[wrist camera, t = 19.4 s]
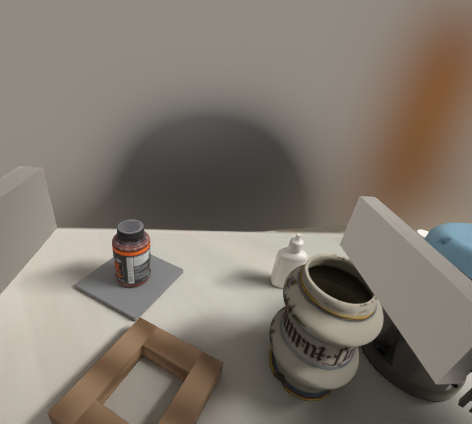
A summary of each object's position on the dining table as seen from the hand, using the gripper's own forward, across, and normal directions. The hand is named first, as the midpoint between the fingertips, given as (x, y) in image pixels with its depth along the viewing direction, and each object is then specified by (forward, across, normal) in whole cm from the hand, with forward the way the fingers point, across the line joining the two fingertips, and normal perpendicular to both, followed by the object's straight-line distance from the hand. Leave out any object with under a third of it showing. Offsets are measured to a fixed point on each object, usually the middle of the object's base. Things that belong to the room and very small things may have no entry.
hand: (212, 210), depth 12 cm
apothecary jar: (+11, +17, -32) cm, 38 cm away
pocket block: (+8, -5, -32) cm, 33 cm away
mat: (+27, -11, -32) cm, 44 cm away
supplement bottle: (+27, -11, -31) cm, 43 cm away
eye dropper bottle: (+28, +18, -32) cm, 46 cm away
